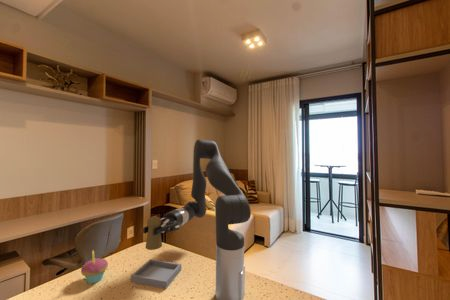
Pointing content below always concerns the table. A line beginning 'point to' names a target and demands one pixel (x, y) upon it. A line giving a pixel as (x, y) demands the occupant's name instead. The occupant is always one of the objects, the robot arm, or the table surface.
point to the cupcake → (94, 269)
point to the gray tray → (156, 273)
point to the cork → (152, 240)
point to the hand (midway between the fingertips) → (148, 231)
